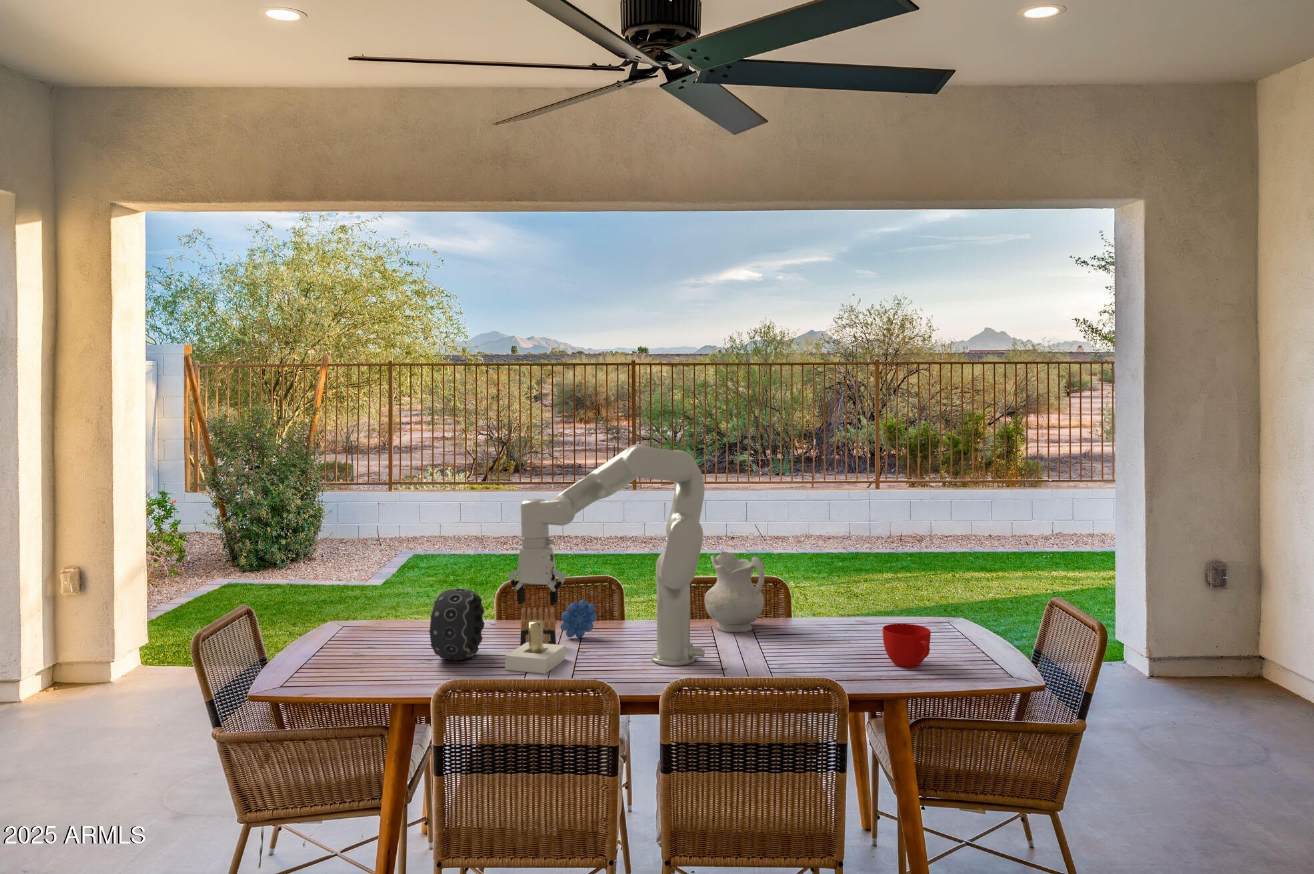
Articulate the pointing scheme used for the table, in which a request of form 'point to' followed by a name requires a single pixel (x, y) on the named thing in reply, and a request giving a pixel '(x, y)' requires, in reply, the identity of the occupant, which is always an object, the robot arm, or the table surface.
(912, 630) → the ceramic cup
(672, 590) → the robot arm
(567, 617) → the blue lumpy cluster
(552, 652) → the white square socket block
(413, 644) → the table surface
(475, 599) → the dark grey toy tire
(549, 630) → the ammunition clip
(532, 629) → the gold cylindrical peg
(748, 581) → the ceramic pitcher
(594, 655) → the table surface
